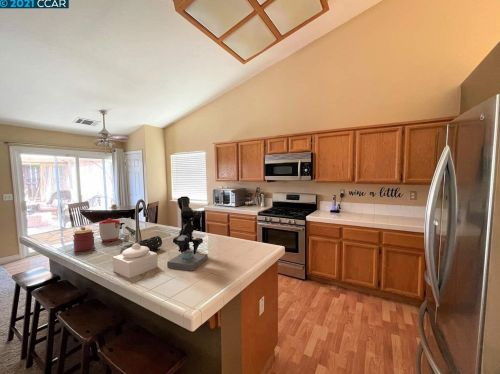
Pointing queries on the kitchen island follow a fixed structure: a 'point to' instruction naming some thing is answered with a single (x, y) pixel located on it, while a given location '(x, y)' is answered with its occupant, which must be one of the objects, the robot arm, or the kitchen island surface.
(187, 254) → the block
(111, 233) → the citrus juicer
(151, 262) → the butter dish
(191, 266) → the outlet plate
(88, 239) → the canister
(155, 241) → the muzzle brake
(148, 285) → the kitchen island surface
